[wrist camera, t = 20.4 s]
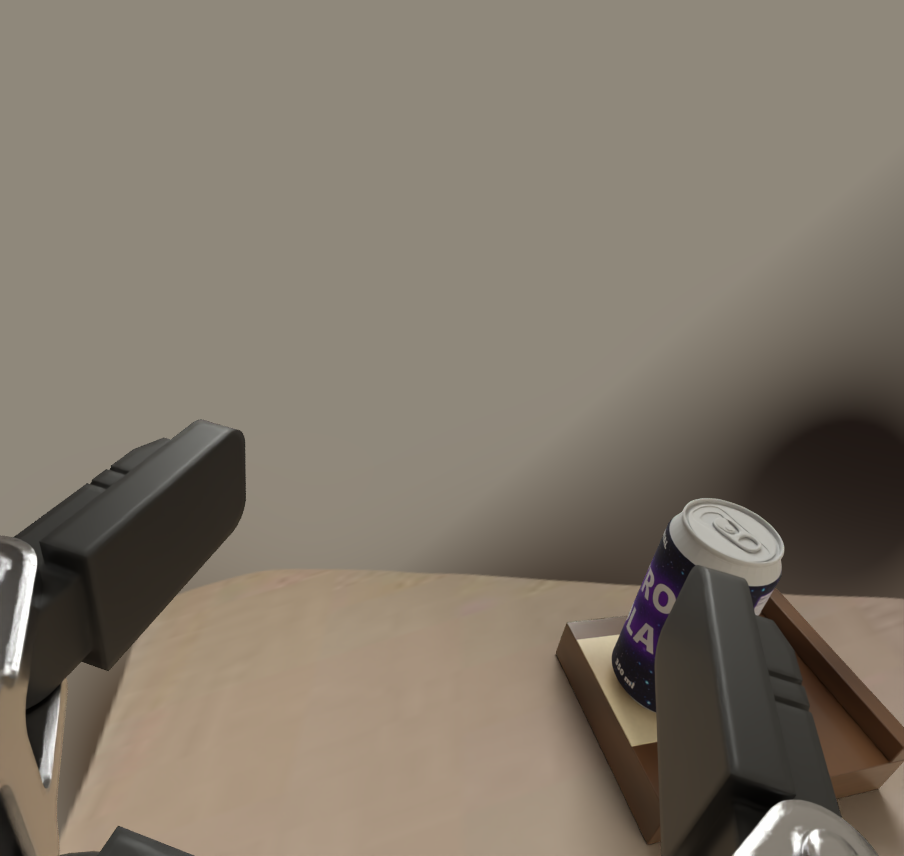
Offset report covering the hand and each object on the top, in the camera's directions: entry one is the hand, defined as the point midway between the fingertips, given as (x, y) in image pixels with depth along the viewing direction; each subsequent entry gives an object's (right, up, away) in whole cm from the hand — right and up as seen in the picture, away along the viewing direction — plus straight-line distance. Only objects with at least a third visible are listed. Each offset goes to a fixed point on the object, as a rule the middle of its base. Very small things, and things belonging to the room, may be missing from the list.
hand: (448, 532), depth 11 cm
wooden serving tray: (+16, -16, +28) cm, 37 cm away
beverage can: (+12, -13, +26) cm, 32 cm away
